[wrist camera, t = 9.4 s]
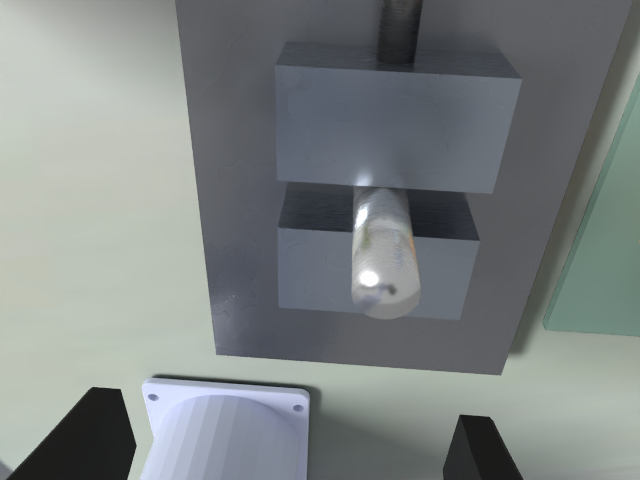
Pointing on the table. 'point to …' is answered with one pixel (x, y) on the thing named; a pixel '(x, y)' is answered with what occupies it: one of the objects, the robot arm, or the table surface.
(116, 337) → the table surface
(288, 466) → the robot arm
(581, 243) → the mat
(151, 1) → the table surface
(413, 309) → the vise
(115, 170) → the table surface
